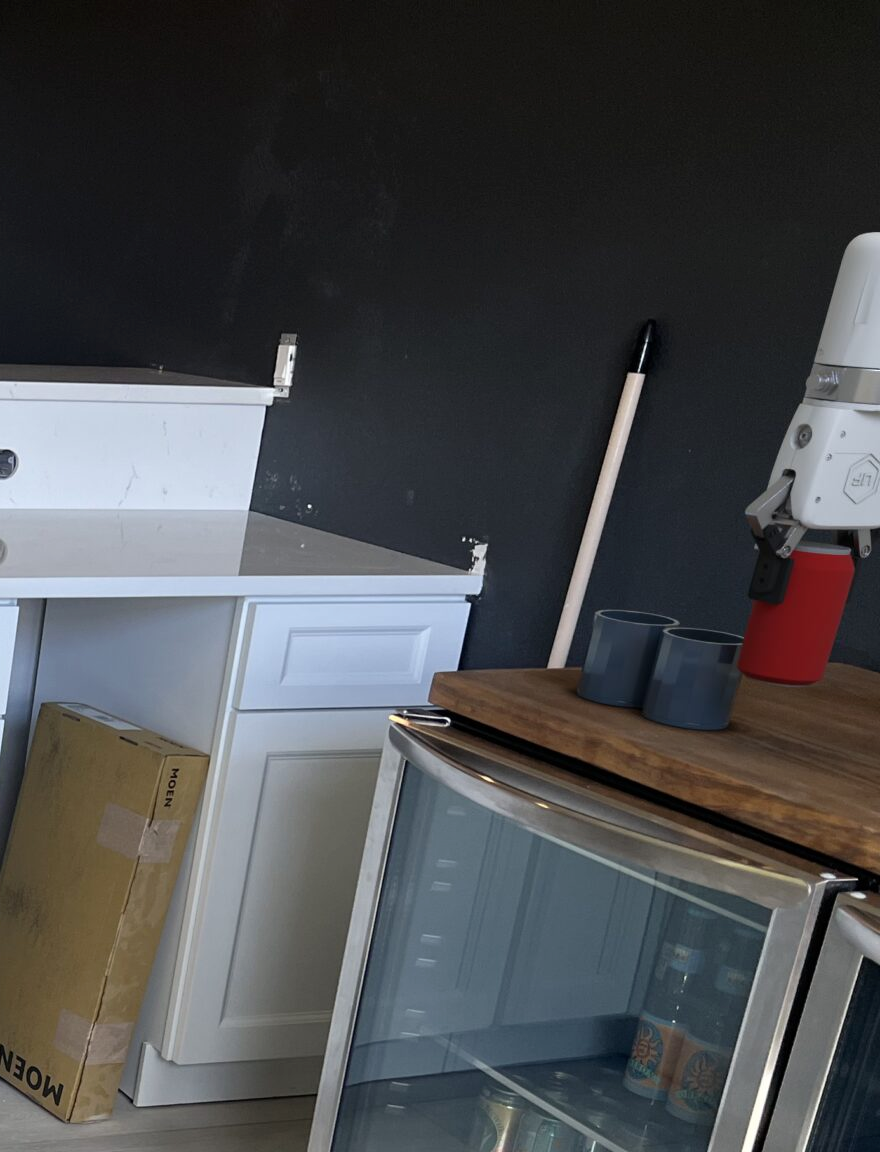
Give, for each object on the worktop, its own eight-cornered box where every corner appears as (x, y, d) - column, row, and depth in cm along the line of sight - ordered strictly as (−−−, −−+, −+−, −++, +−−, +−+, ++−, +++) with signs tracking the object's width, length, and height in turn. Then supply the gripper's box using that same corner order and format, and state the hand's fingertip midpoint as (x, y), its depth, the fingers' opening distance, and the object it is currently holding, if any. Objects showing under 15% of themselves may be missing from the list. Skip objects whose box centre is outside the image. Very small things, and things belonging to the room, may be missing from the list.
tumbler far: (651, 695, 186) (672, 615, 183) (662, 711, 180) (684, 628, 176) (572, 686, 188) (591, 606, 185) (580, 701, 182) (600, 619, 179)
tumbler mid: (720, 716, 179) (742, 633, 176) (733, 733, 172) (758, 648, 169) (636, 706, 181) (657, 624, 178) (647, 723, 174) (669, 638, 171)
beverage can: (814, 680, 168) (854, 545, 164) (825, 693, 163) (866, 554, 158) (730, 669, 171) (766, 536, 167) (737, 682, 165) (775, 544, 161)
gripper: (817, 392, 152) (756, 611, 159) (977, 396, 157) (911, 608, 164) (741, 383, 159) (685, 593, 165) (896, 387, 164) (836, 591, 170)
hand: (798, 599), depth 164 cm, fingers closed on beverage can, 6 cm apart
